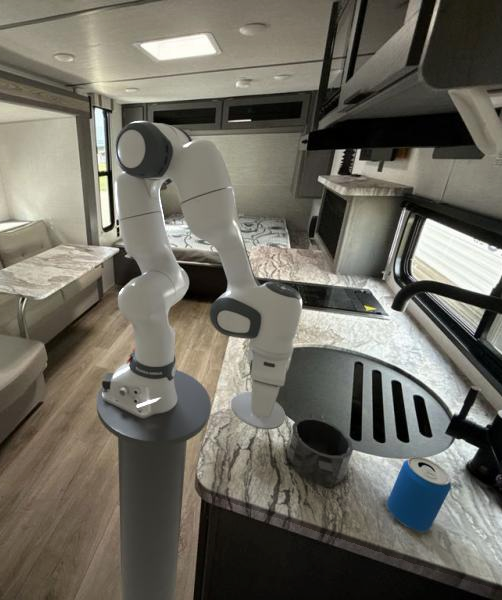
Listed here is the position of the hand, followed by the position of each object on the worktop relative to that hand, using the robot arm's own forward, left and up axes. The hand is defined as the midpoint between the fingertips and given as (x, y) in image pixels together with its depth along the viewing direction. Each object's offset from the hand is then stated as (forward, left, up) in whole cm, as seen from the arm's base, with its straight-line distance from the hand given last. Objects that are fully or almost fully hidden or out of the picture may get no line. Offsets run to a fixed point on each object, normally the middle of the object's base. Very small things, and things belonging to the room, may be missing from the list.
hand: (258, 405), depth 73 cm
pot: (+14, -2, -10) cm, 17 cm away
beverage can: (+29, -9, -10) cm, 32 cm away
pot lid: (0, 0, -1) cm, 1 cm away
